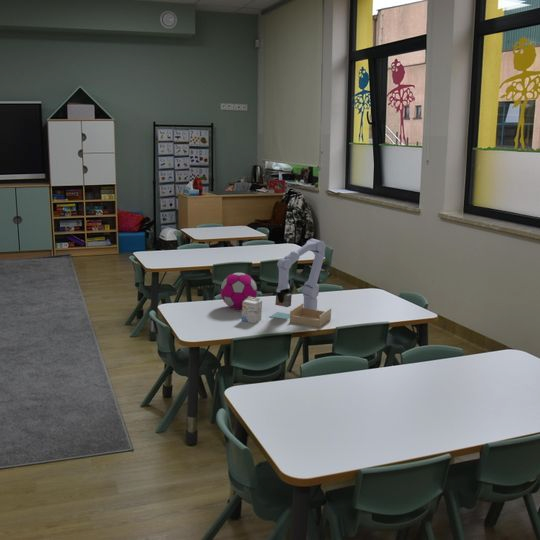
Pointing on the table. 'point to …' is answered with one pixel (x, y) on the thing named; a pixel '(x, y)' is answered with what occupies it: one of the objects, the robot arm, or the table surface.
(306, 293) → the robot arm
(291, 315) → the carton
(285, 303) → the walnut block
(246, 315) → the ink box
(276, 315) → the teal mat
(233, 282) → the soccer ball
